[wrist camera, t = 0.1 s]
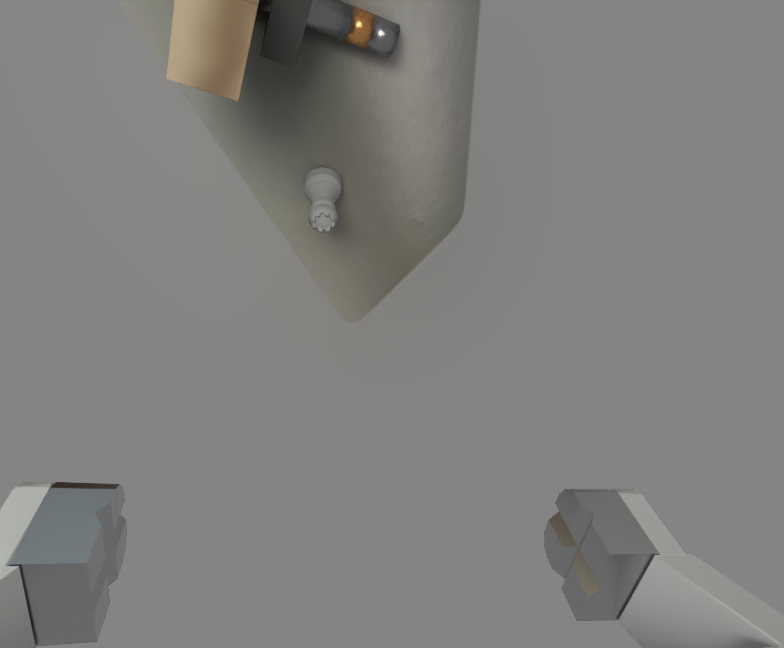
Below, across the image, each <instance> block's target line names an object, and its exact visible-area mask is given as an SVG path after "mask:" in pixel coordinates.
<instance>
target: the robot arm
mask: <svg viewBox="0 0 784 648" xmlns="http://www.w3.org/2000/svg"><path fill="white" fill-rule="evenodd" d="M124 501H125V499H124V491H123V486H122V485H120V484H97V483H68V482H67V483H66V482H56V483H48V482H21V483H20V484H18V485H17V486H16V487H15V488H14V489H13V490H12V492H11V493H10V495H9V496H8V498H7V500H6V502H5V503H4V505H3V507H2V508H1V510H0V648H36V646H45V645H59V644H73V643H87V642H97V640H98V637H99V634H100V631H101V628H102V625H103V622H104V619H105V616H106V613H107V610H108V607H109V604H110V599H109V587H108V586H109V585H110V584H111V583H112V582H114V581H115V580H116V579H117V578H118V576H119V572H120V569H121V566H122V562H123V557H124V552H125V547H126V536H127V528H126V527H127V526H126V520H125V518H123V517H122V516H121V515H120V513H121V510H122V507H123V504H124ZM555 504H556V506H557V508H558V510H559V512H558V513H556V514H555V515H554V516H552V517H551V518H550V519H549V520H548V523H547V526H546V529H545V531H544V546H545V550H546V554H547V558H548V560H549V563H550V565H551V567H552V569H554V570H555V571H556V572H557V573H558V574H560V575H561V576H562V577H563V578H564V581H563V585H562V590H563V593H564V595H565V597H566V599H567V601H568V603H569V605H570V607H571V609H572V612H573V614H574V616H575V618H576V620H577V621H588V620H589V621H594V620H618V624H619V625H620V626H621V627H622V628H623V629H624V630H625V631H626V632H627V633H628V634H629V635H630V636H631V637H632V638H633V639H634V640H635V641H636V642H638V644H640V646H642V648H784V616H783V615H782V614H780V613H779V612H777V611H776V610H774V609H773V608H771V607H770V606H768V605H767V604H765V603H764V602H762V601H761V600H759V599H758V598H756V597H755V596H753V595H752V594H750V593H749V592H747V591H746V590H744V589H743V588H741V587H740V586H738V585H737V584H735V583H734V582H732V581H731V580H729V579H728V578H726V577H725V576H724V575H722V574H721V573H719V572H718V571H716V570H714V569H713V568H711V567H710V566H709V565H707V564H705V563H704V562H703V561H701V560H699V559H698V558H697V557H695V556H694V555H685V553H684V552H683V551H682V549H681V548H680V547H679V545H678V544H677V543H676V541H675V540H674V539H673V537H672V536H671V534H670V533H669V532H668V530H667V529H666V528H665V526H664V525H663V523H662V522H661V521H660V519H659V518H658V517H657V515H656V514H655V513H654V511H653V510H652V509H651V507H650V506H649V505H648V503H647V502H646V500H645V499H644V498H643V496H642V495H641V494H640V493H639V492H637V491H636V490H634V489H610V490H608V489H565V490H563V491H562V492H561V493H560V494H559V496H558V498H557V501H556V503H555Z"/></svg>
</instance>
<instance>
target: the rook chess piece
mask: <svg viewBox="0 0 784 648" xmlns="http://www.w3.org/2000/svg"><path fill="white" fill-rule="evenodd" d="M304 188H305V193H306V195H307V197H308V198H309V200H311V202H312V205H311V208H310V209H311V211H310V213H309V215H308V219H309V222H310V224H311V225H312V227H313V228H314V229H315V228H316V229H318V232H321V233H322V230H326V232H329V231H331V228H334V226H335V225H336V224H337V222H338V214H337V212H336V207H335V205H334V203H335V201H336V200H337V199H338V198H339V196H340V194H341V191H342V189H341V188H342V180H341V178H340V176H339V175H338V174H337V173H336V172H335V171H333V170H332V169H329V168H325V167H324V168H316V169H314V170H311V171H310V172H309V173H308V174H307V175H306V177H305V180H304Z"/></svg>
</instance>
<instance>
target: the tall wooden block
mask: <svg viewBox="0 0 784 648" xmlns="http://www.w3.org/2000/svg"><path fill="white" fill-rule="evenodd" d="M258 5H259V0H175V2H174V11H173V21H172V31H171V40H170V50H169V59H168V69H167V79H169V80H172V81H175V82H178V83H181V84H184V85H187V86H191V87H194V88H197V89H200V90H203V91H206V92H209V93H213V94H216V95H219V96H222V97H225V98H228V99H231V100H234V101H238V100H239V96H240V91H241V86H242V82H243V77H244V72H245V68H246V63H247V58H248V54H249V49H250V44H251V40H252V35H253V30H254V26H255V21H256V16H257V11H258Z"/></svg>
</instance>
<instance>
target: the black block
mask: <svg viewBox="0 0 784 648" xmlns="http://www.w3.org/2000/svg"><path fill="white" fill-rule="evenodd" d="M312 1H313V0H272V4H271V8H270V13H269V15H268V19H267V24H266V28H265V34H264V40H263V45H262V51H261V56H263V57H265V58H268V59H271V60H274V61H277V62H280V63H283V64H285V65H288V66H291V67H294V68H295V65H296V62H297V58H298V54H299V50H300V46H301V43H302V39H303V35H304V31H305V28H306V24H307V20H308V16H309V12H310V9H311V5H312Z"/></svg>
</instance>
